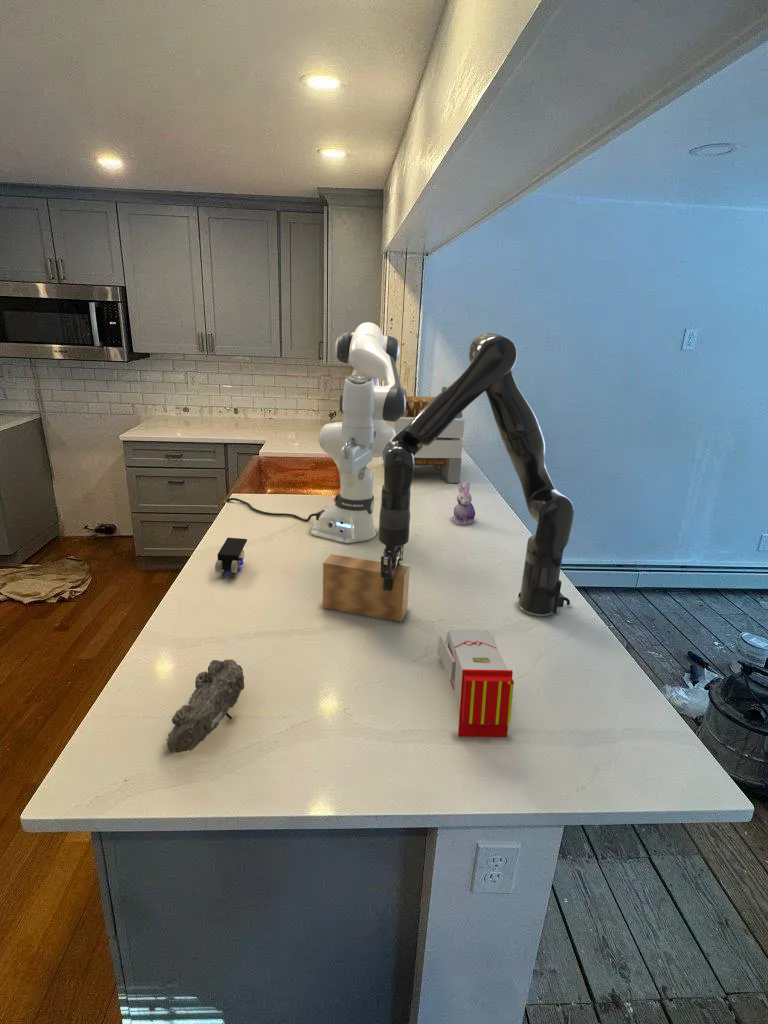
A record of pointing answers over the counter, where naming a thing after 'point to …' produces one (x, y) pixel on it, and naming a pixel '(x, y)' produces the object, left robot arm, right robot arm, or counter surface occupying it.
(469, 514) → the figurine
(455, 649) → the toy
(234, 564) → the figurine character
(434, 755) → the counter surface
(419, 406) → the transformer
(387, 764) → the counter surface
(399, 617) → the box
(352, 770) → the counter surface
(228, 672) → the fossil
